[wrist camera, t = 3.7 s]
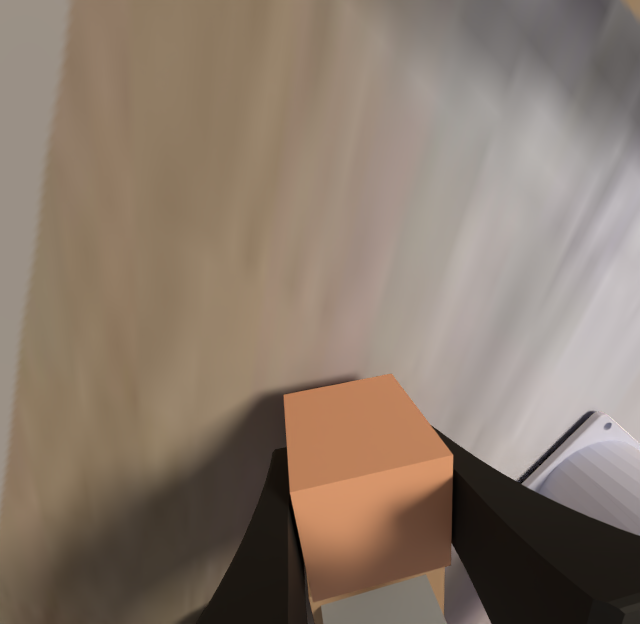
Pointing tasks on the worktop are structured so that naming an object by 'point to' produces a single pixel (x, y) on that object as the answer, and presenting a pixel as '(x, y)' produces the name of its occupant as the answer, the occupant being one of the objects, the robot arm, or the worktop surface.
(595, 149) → the worktop surface
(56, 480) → the worktop surface
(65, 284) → the worktop surface
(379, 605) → the slate block
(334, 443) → the terracotta cube
